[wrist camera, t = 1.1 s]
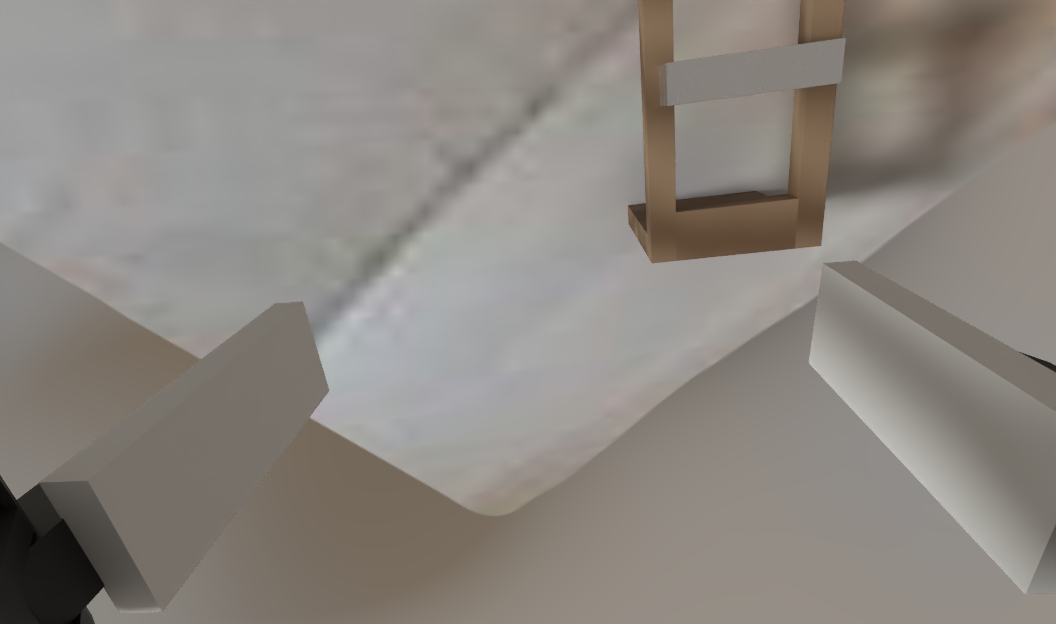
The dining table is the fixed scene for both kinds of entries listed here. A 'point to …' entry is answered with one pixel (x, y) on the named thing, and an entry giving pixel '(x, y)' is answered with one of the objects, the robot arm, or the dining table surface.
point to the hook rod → (752, 72)
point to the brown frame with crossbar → (738, 216)
